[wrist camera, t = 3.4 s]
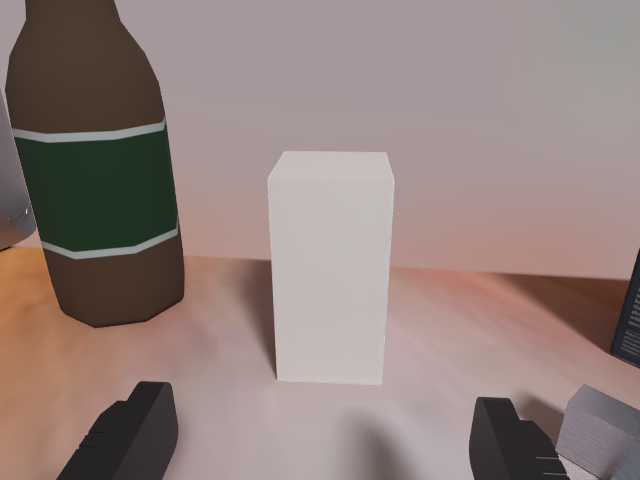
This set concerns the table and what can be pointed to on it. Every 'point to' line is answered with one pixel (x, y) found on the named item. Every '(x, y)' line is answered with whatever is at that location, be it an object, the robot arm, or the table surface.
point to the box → (629, 322)
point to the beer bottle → (96, 162)
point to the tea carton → (330, 264)
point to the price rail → (601, 435)
